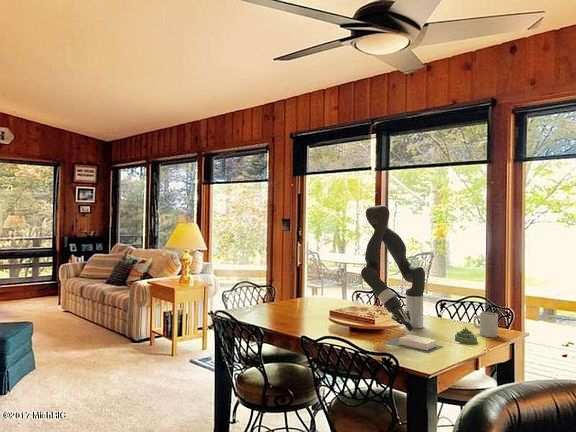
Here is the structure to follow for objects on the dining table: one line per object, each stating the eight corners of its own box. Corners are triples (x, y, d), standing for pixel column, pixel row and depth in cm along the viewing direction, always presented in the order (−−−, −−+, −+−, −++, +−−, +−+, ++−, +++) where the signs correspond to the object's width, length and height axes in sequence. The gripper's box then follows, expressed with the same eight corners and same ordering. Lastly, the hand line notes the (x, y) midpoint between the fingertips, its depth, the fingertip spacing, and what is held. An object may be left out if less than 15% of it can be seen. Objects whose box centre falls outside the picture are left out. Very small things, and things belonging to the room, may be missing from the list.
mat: (381, 344, 219) (381, 342, 219) (398, 338, 230) (398, 336, 230) (428, 354, 202) (428, 353, 202) (444, 347, 213) (444, 346, 213)
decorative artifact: (480, 341, 224) (461, 337, 231) (480, 327, 224) (461, 323, 231) (470, 345, 217) (450, 341, 225) (470, 330, 217) (450, 326, 225)
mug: (500, 335, 235) (500, 313, 235) (494, 338, 229) (494, 316, 229) (476, 331, 244) (476, 310, 244) (470, 334, 237) (470, 312, 237)
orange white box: (399, 338, 216) (426, 343, 206) (409, 334, 222) (436, 340, 212) (399, 344, 216) (426, 350, 206) (409, 341, 222) (436, 346, 212)
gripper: (386, 297, 218) (409, 327, 210) (401, 294, 228) (424, 323, 219) (377, 307, 222) (399, 337, 213) (392, 303, 231) (414, 332, 223)
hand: (411, 330), depth 216 cm, fingers closed
